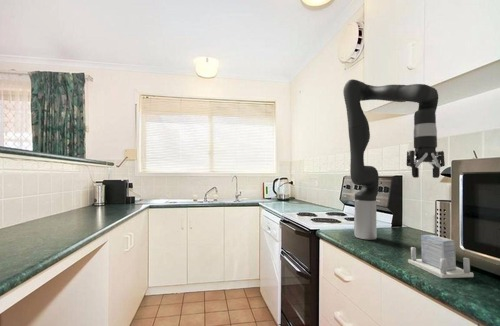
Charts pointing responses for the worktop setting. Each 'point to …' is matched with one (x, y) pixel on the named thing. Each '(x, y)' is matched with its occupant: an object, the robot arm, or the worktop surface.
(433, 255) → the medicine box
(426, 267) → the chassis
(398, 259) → the worktop surface
